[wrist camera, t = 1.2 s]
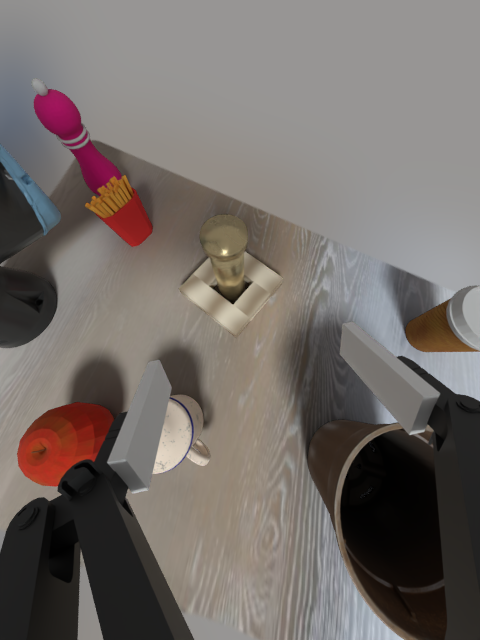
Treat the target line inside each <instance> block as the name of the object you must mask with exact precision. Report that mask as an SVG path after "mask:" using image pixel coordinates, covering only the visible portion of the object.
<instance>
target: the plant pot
mask: <svg viewBox="0 0 480 640" xmlns="http://www.w3.org/2000/svg"><path fill="white" fill-rule="evenodd" d="M433 431H434V430H433V429H432V428H431V427H430V426H429V425H427V426H426V429H425V431H424V432H421V433H417V434H412V435H409V434H408V433H407V432H406V431H405V429H404V428H403V427H402V426H401V425H400V424H399V423H393V424H378V425H374V424H368V423H362V422H356V421H350V420H334V421H331V422H328V423H326V424H325V425H323V426H322V427H320V428H319V429H318V430H317V431H316V433H315V434H314V436H313V437H312V439H311V442H310V446H309V453H308V467H309V471H310V474H311V477H312V479H313V481H314V483H315V485H316V487H317V489H318V491H319V493H320V495H321V497H322V499H323V501H324V503H325V505H326V507H327V509H328V511H329V513H330V517H331V521H332V524H333V527H334V530H335V532H336V538H337V542H338V546H339V549H340V552H341V555H342V558H343V561H344V563H345V566H346V568H347V571H348V573H349V575H350V577H351V579H352V581H353V583H354V585H355V586H356V588H357V590H358V592H359V593H360V595H361V596H362V598H363V599H364V601H365V602H366V603H367V605H368V606H369V607H370V609H371V610H372V611H373V612H374V613H375V614H376V616H377V617H378V618H379V619H380V620H381V621H382V622H383V623H384V624H385V625H386V626H387V627H388V628H390V629H391V630H392V631H393V632H395V633H396V634H397V635H398V636H400V637H401V638H403V639H404V640H445V635H446V630H447V609H446V597H445V585H444V573H443V561H442V548H441V536H440V524H439V512H438V500H437V488H436V476H435V464H434V451H433V442H432V444H431V445H428V442H429V439H430V437H431V435H432V433H433ZM369 441H371V443H372V444H373V446H374V447H375V449H376V452H373V451H372V448H371V447H370V446H369V444H368V442H369ZM358 464H361V468H360V469H359V468H358V466H357V465H358ZM347 473H348V475H349V477H348V478H345V477H346V474H347ZM370 487H373V491H372V492H371V493H370V494H369V495H367V496H366V497H364V498H363V499H361V498H360V496H361V494H363V493H365V492H366V491H368V489H369V488H370Z"/></svg>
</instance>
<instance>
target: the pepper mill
mask: <svg viewBox="0 0 480 640" xmlns="http://www.w3.org/2000/svg"><path fill="white" fill-rule="evenodd" d="M31 83H32V87H33V89H34V90H35V92H36V93H37V95H36V97H35V99H34V109H35V112H36V115H37V117H38V118H39V120H40V121H41V123H42V124H43V125H44V126H45V128H47V129H48V130H49V131H50V132H52V133H54V134H56V136H57V138H58V140H59V141H60V142H61V143H62V145H63V146H64V147H66V148H68V149H69V150H71V152H72V153H73V154H74V156H75V157H76V159H77V160H78V162H79V164H80V167H81V171H82V174H83V177H84V180H85V182H86V184H87V185H88V187H89V188H90V190H91V191H92V192H94V193H95V194H97V195H99V197H100V196H101V194H100V193H99V192H98V191H97V190H98V189H99V187H100V188H101V187H102V186H103V185H104V187H105V188H106V189H108V188H107V185H106V184H107V183H108V182H109V180H110V179H111V178H113V177H114V176H115V177H116V179H117V180H120V179H122V178H121V177H122V175H121V173H120V172H119V170H118V169H117V167H116V166H115V165H114V164H113V163H112V162H111V161H109V160H108V159H107V158H105V157H104V156H103V155H102V154H101V153H99V152H98V151H97V149H96V148H95V147H94V145H93V144H92V142H91V140H90V134H89V132H88V131H87V130H86V127H85V126H84V125H83V124H82V123H81V116H80V113H79V111H78V109H77V107H76V106H75V104H74V103H73V102H72V101H71V100H70V99H69V98H68V97H67V96H66V95H65V94H63V93H61V92H59V91H57V90H52V89H47V87H46V85H45V84H44V82H42V81H41V80H39V79H37V78H36V79H33V80H32V82H31ZM110 184H111V183H110ZM111 186H112V184H111ZM112 187H113V186H112ZM108 190H109V189H108Z"/></svg>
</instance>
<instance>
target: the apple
mask: <svg viewBox="0 0 480 640" xmlns="http://www.w3.org/2000/svg"><path fill="white" fill-rule="evenodd" d="M113 421H114V418H113V416H112V415H111V413H110V411H109V410H108V409H106V408H104V407H103V406H101V405H96V404H89V403H80V402H75V403H72V404H68V405H64V406H61V407H58V408H55V409H51V410H48V411H47V412H46V413H44V414H43V415H42V416H40V417H39V418H38V419H36V420H35V421H34V422H33V423H32V425H31V426H30V427H29V428H28V429H27V431H26V432H25V434H24V435H23V437H22V439H21V440H20V444H19V448H18V453H17V456H18V465H19V467H20V469H21V470H22V472H23V473H24V475H25V476H26V477H28V478H29V479H31V480H32V481H34V482H36V483H38V484H40V485H43V486H58V484H59V482H60V480H61V478H62V477H63V475H64V474H65V473H66V471H67V470H69V469H70V468H71V467H72V466H73V465H74V464H76V463H78V462H79V461H82V460H85V459H90V460H92V461H93V462H94V461H95V459H96V456H97V454H98V452H99V450H100V448H101V446H102V443H103V441H105V437H106V435H107V433H108V431H109V428H110V426H111V424H112V422H113Z"/></svg>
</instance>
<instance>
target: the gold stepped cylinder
mask: <svg viewBox="0 0 480 640" xmlns="http://www.w3.org/2000/svg"><path fill="white" fill-rule="evenodd" d="M200 241H201V244H202V247H203V250H204V252H205V254H206V255H207V256H208V257H209V258H210V261H211V264H212V268H213V271H214V275H215V278H216V281H217V285H218V288H219V291H220V294H221V296H222V297H224V298H225V299H226V300H228V301H235V300H238V299H239V298H240V296H241V295H242V294H243V293H244V290H245V288H244V252H245V250H246V248H247V244H248V231H247V227H246V225H245V224H244V222H243V221H242V220H240V219H239V218H237V217H235V216H233V215H228V214H221V215H217V216H214V217H212V218H210V219H208V220H207V221H206V222H205V223H204V224H203V226H202V228H201V230H200Z"/></svg>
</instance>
